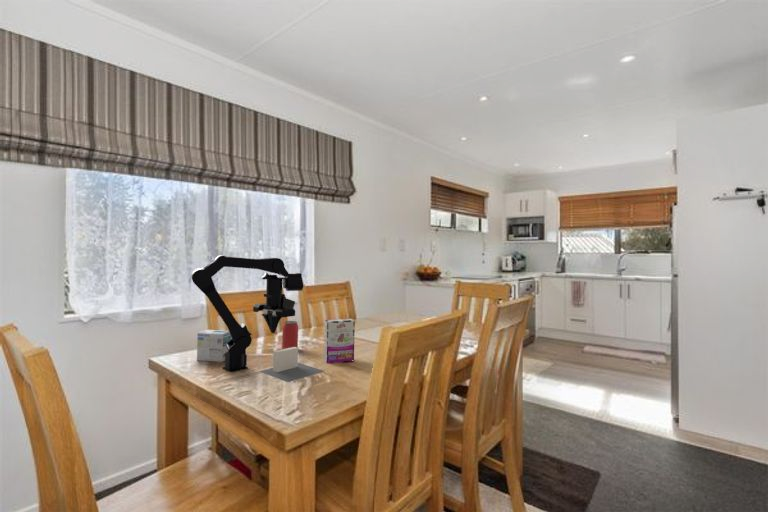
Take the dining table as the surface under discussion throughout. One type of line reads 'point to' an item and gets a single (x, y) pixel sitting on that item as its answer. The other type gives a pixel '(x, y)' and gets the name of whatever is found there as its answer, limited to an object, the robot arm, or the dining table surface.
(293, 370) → the mat
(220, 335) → the light bulb box
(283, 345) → the beer can
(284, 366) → the deck
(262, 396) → the dining table surface
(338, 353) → the candy bar box
